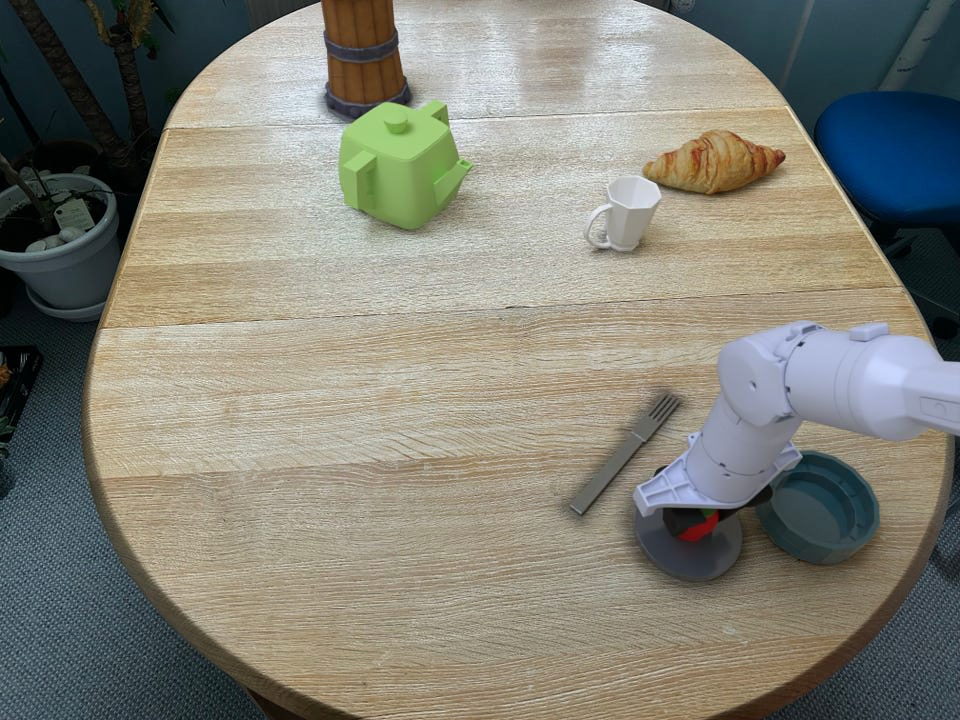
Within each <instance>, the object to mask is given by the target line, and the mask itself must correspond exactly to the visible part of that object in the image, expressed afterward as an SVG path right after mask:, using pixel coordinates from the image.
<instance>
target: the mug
mask: <svg viewBox="0 0 960 720" xmlns="http://www.w3.org/2000/svg"><path fill="white" fill-rule="evenodd" d="M320 5H321V11H322V18H323V23H324V24H323V25H324V31H323V32H322V35H323V41H324V45H325V48H326V62H327V63H326V64H327V78H328V80H327V81H326V82H325V85H324V88H325V90H326V92H325V94H323V101H324V104H325V107H326V109H327V112H328V113H330V114H331V115H333V116H335V117H337V118H338V119H340V120H342V121H343V122H349V123H353V122H354V121H356V120H357V119H358V118H360V117H361V116H363V115H364V114H366V113H367V112H369V111H370V110H372V109H373V108H375V107H377V106H379V105H380V104H382V103H384V102H390V103H395V104H399V105H403V106H406V107H409V108H410V105H411V103H412V101H413V99H414V95H413V93H412V91H411V89H410V87H409V82H408V78H407V76H406V75H404V71H403V65H402V60H401V54H400V49H399V45H400V39H399V30H398V29H397V26H396V23H395V14H394V13H395V11H394V0H320Z"/></svg>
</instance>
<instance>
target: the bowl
mask: <svg viewBox="0 0 960 720" xmlns="http://www.w3.org/2000/svg"><path fill="white" fill-rule="evenodd" d="M798 451H799V452H800V454H801V455H802V456H803V457H802V459H801V460H800V461H799V463H798V464H797V465H796V466H795V468H793V469H790V470H787V471H785V470H783V471H782V472H780V473H779V474H778V475H777V476H776V477H775V478H774V479H773V480H772V481H771V482H770V483H769V484H770V486H771V488H772V490H773V496H772V498H771V499H770V500H769V501H768V502H766V503H763V504H760V505H757V506H754V507H753V508H754V510H755V514H756V516H757V519H758V522H759V525H760V527H761V528H762V529H763V531H764V532H765V533H766V534H767V536H768V537H769V538H770V539H771V541H772V542H773V543H774V544H775V545H776V546H777V547H779V548H781V549H782V550H784V551H785V552H787V553H788V554H789V555H791V556H792V557H794V558H796V559H798V560H802V561H804V562H809V563H812V564H815V565H831V564H834V565H835V564H840V563H842V562H844V561H846V560H847V559H849V558H850V557H852V556H854V555H855V554H856V553H858V552H859V551H860V550H861V549H863V547H865V546H866V545H867V544H868V543H869V542H871V541H872V539H873V538H874V537H875V534H876V532H877V531H878V528H879V526H880V524H881V511H880V503H879V500H878V499H877V497H876V495H875V493H874V491H873V487H872V486H871V484H870V483H869V482H868V481H867V480H866V479H865V478H864V476H862V475H861V474H860V472H859V471H857V469H856V468H855V467H853V466H851V464H848V463H847V462H845V461H843V460H841V459H839V458H838V457H836V456H834V455H831V454H828V453H825V452H821V451H817V450H814V449H810V450H809V449H808V450H807V449H806V450H798Z"/></svg>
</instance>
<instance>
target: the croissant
mask: <svg viewBox="0 0 960 720" xmlns="http://www.w3.org/2000/svg"><path fill="white" fill-rule="evenodd" d="M786 158H787V156H786V154H785V152H784V151H783V150H781V149H775V150H773V149H772V148H771V147H768V146H767V145H762V144H757V145H756V144H755V143H754V142H753V141H751V140H749V139H743V138H741V136H739V135H738V134H736V133H734V132H732V131H731V130H724V129H723V130H722V129H717V128H716V129H711V130H707V131H705V132H703V133H702V134H701V135H700V136H699V137H698V138H695V139H690V140H687V141H685V143H683V144H682V146H680V148H678V149H675V150H674V151H673V150H672V151H669V152H664V153H663V154H661V155H660V156H659V157H657V159H656V161H648V162H647V163H645V164H644V165H643V166H642V169H641V170H642V171H641V172H642V176H643V177H644V178H645V179H647V180H650V181H652V182H654V183H657V184H662V185H663V186H666V187H670V188H676V189H679V190H683V191H687V192H688V191H690V192H695V193H701V194H706V195H712V194H714V193H717V192H729V191H731V190H732V191H733V190H735V189H739V188H741V187H744V186H745V185H747V184H749V183H752V182H754V181H755V180H757V179H760V178H762V177H765V176H768V175H769V174H772V173H773V171H775V170H776V169H777V168H778V167H779V166H780V165H781V164H783V162H785V161H786Z"/></svg>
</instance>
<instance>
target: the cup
mask: <svg viewBox="0 0 960 720" xmlns="http://www.w3.org/2000/svg"><path fill="white" fill-rule="evenodd" d="M662 199H663V196H662V193H661V191H660V189H659V186H658V183H657V182H654V181H653V180H651V179H648V178H646V177H644V176H641V175H639V174H635V175H633V174H632V175H617V176H616V177H615V178H613V179H612V180H611V181H610V182H608V184H607V185H606V186H605V204H603V205H600V206H598V207H597V208H595V209H594V210H593V211H592V212H591V213H590V215H589V217H588V218H587V220H586V222H585V224H584V229H583V233H582V234H583V238H584V240H585V241H586V242H587V243H588V244H590V245H591V246H593V247H595V248H599V249H609V248H611V249H613V250H615V251H617V252H632V251H634V249H635V248H637V246H639V244H640V240H641V238H642V237H643V235H644V234H645V233H646V231H647V230H648V228H649V226H650V224H651V222H652V220H653V217H654V216H655V214H656V211H657V210H658V208H659V206H660V203H661V201H662ZM602 213H604V218H605V228H606V233H607V234H606V236H605V240H606V242H597V241H596V240H595V241H594V240H592V239H590V236H589V234H590V231H591V228H592V226H593V224H594V222H595V220H596V219H597V218H598V217H599V216H600V215H601V214H602Z"/></svg>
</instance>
